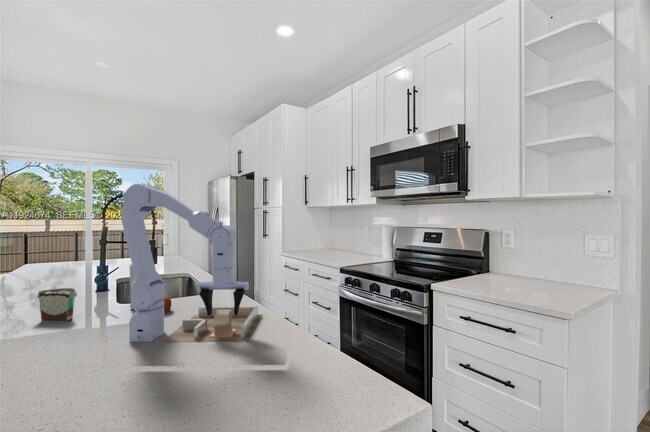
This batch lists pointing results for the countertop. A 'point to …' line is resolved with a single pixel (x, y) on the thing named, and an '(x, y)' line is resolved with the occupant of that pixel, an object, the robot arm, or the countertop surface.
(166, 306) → the fruit
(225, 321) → the maple block
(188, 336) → the walnut board
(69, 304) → the food container
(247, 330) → the channel walls
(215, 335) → the pad
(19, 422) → the countertop surface
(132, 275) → the bottle
